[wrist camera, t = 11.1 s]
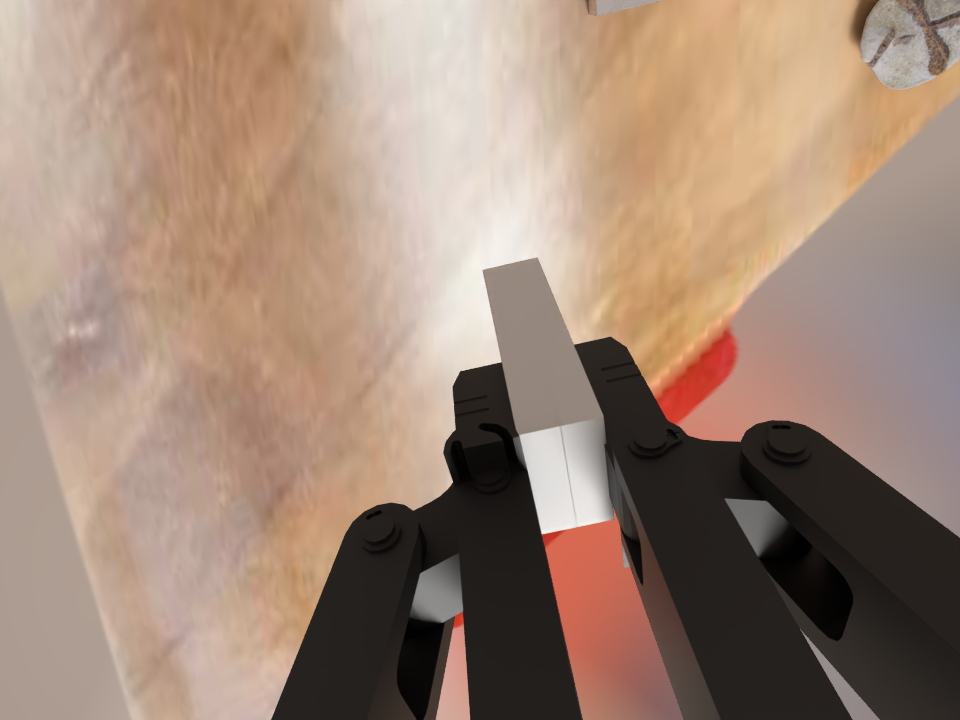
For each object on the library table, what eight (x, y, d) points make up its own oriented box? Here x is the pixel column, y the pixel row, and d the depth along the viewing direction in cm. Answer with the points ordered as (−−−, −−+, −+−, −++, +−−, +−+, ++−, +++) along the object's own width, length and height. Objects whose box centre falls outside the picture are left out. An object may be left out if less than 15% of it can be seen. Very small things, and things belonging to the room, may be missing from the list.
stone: (886, 108, 40) (913, 115, 37) (831, 36, 37) (857, 40, 34) (1021, -22, 36) (1060, -22, 34) (972, -114, 33) (1012, -120, 31)
